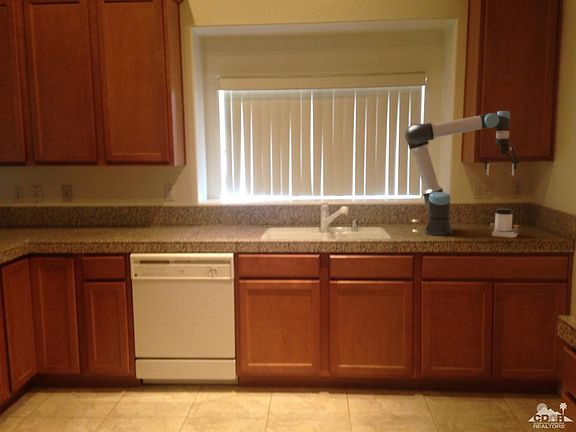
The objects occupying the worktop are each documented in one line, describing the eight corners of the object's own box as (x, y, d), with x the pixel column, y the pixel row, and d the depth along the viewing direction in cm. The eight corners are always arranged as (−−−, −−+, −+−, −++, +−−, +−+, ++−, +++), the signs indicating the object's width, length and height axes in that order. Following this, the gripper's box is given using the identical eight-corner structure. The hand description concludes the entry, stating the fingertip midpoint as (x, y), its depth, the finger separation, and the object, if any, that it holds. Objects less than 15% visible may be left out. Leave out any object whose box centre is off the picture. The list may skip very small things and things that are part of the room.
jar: (493, 230, 283) (494, 209, 281) (496, 228, 290) (497, 207, 288) (510, 231, 278) (511, 210, 276) (513, 229, 285) (514, 208, 283)
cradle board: (489, 235, 282) (489, 224, 281) (493, 231, 295) (494, 220, 294) (517, 237, 275) (518, 226, 274) (521, 233, 288) (521, 222, 287)
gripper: (477, 138, 294) (476, 175, 297) (524, 138, 282) (522, 176, 285) (480, 138, 301) (478, 174, 304) (526, 138, 288) (524, 175, 291)
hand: (500, 175), depth 294 cm, fingers open, 13 cm apart
